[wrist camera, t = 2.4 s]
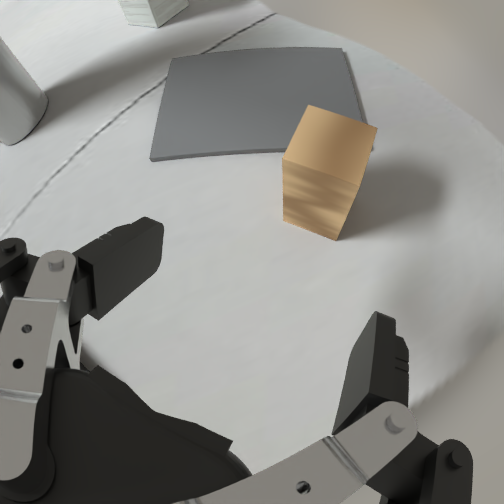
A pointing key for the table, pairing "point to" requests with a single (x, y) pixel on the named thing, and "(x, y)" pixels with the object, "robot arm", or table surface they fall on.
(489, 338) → the table surface
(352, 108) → the rubber mat
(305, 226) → the oak block
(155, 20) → the supplement box
